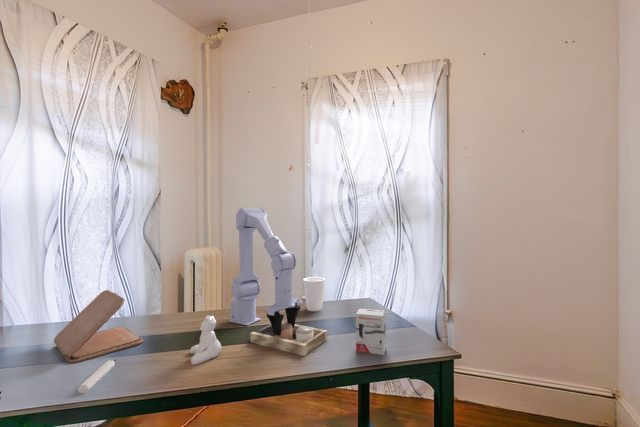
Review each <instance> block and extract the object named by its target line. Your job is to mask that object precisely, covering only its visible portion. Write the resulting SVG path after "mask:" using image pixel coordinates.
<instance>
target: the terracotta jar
mask: <svg viewBox="0 0 640 427" xmlns="http://www.w3.org/2000/svg"><path fill="white" fill-rule="evenodd" d="M283 322H284V323H282V325H281V334H280V335H279V336H278V335H275V337H279V338H283V339H288V340H292V341H294V340H293V338H294V336H293V335H294V334H293V327H292V324H291V323H286V322H287V321H283Z"/></svg>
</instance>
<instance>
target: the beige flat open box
mask: <svg viewBox="0 0 640 427" xmlns="http://www.w3.org/2000/svg"><path fill="white" fill-rule="evenodd" d="M284 322H286V323H287V321H282V323H284ZM303 326H304V325H302V324H296V323H295V325H294V328H293V335H295V336H296V330H297V328H299V327H303ZM310 327H311V326H310ZM311 328H312V329H313V338H311V339H310V340H308V341H306V342H305V343H301V342H297V341H296V340H288V339H283V338H279V337H276V335H275V336H274V335H273V336H270V335H266V334H262V333H257V331H251V332H250V344H251V343H252V344H255V345H256V344H257V345H260V346H262V347H263V346H264V347H268V348H271V349H276V350H278V351H279V350H280V351H283V352H287V353H291V354H296V355H300V356H306V355H308V354H309V353H310V352H312V351H313V350H314V349H316V348H317V347H319V346H320V345H322V344H323V343H324V342H326V341H328V333H329V332H328V330H326V329H321V328H315V327H311Z"/></svg>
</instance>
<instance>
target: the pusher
mask: <svg viewBox="0 0 640 427" xmlns="http://www.w3.org/2000/svg"><path fill="white" fill-rule="evenodd" d="M256 332H257V333H262V334H266V335H270V336H274V332H273V328H272V325H271V323H270V324H268V325H267V326H264V327H261V328H260V329H258V330H257V331H256Z"/></svg>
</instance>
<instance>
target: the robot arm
mask: <svg viewBox="0 0 640 427" xmlns="http://www.w3.org/2000/svg"><path fill="white" fill-rule="evenodd" d="M235 225H236V230H237V231H238V245H239V246H238V248H239V251H238V252H239V273H238V274H237V275H236V276H235V277H234V278H232V285H231V295H232V297H233V298H232V300H231V302H230V319H229V320H228V322H230V323H234V324H238V325H244V326H250V325H252V324H254V323H256V322H258V321H260V320H262V318H261V317H257V307H256V303H257V302H256V300H257V299H256V298H258V296H259V295H260V292H261V284H260V278H259V276H258V275H256V274H255V273H254V245H253V244H254V243H253V242H254V241H253V239H254V238H253V235H254V234H253V233H254V232H255V231H257V232H258V233H259V235H260V237H262V239H263V241H264V244H263V247H264V248H265V250H266V252H267V254H268V255H269V257H270V259H271V262H270V265H271V269H272V273H273V277H274V293H275V294H274V299H275V300H274V301H275V303H273V304H272V305H271V306H270V307H268V308H267V312H266V318H267V319H268V321H269V322H270V324H271V325H272V328H273V332H274V335H275V336H276V335H278V336H279V335H280V334H281V325H282V322H283V319H284V317H285V315H286V322H287V323H291V324H292V327H293V328H294V325H295V324H296V320H297V317H298V314H299V312H300V310H301V306H300V305H299V303H300V302H299V301H300V299H299V298H297V297H294V296H293V270H294V269H295V268H296V266H297V265H296V264H297V261H296V260H297V259H296V256H295V254H294V253H293V252H290V251H289V250H287V249H286V247H285V246H284V244H283V242H282V241H281V239H280V238H279V237H278V236H274V234H273V232H272V229H271V227H270V225H269V223H268V214H267V212H266V210H265V209H264V208H262V207H259V208H243V207H242V208H239V209H238V211H237V212H236V215H235ZM283 310H285V314H281V313H280V312H281V311H283ZM274 335H273V336H274Z"/></svg>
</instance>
